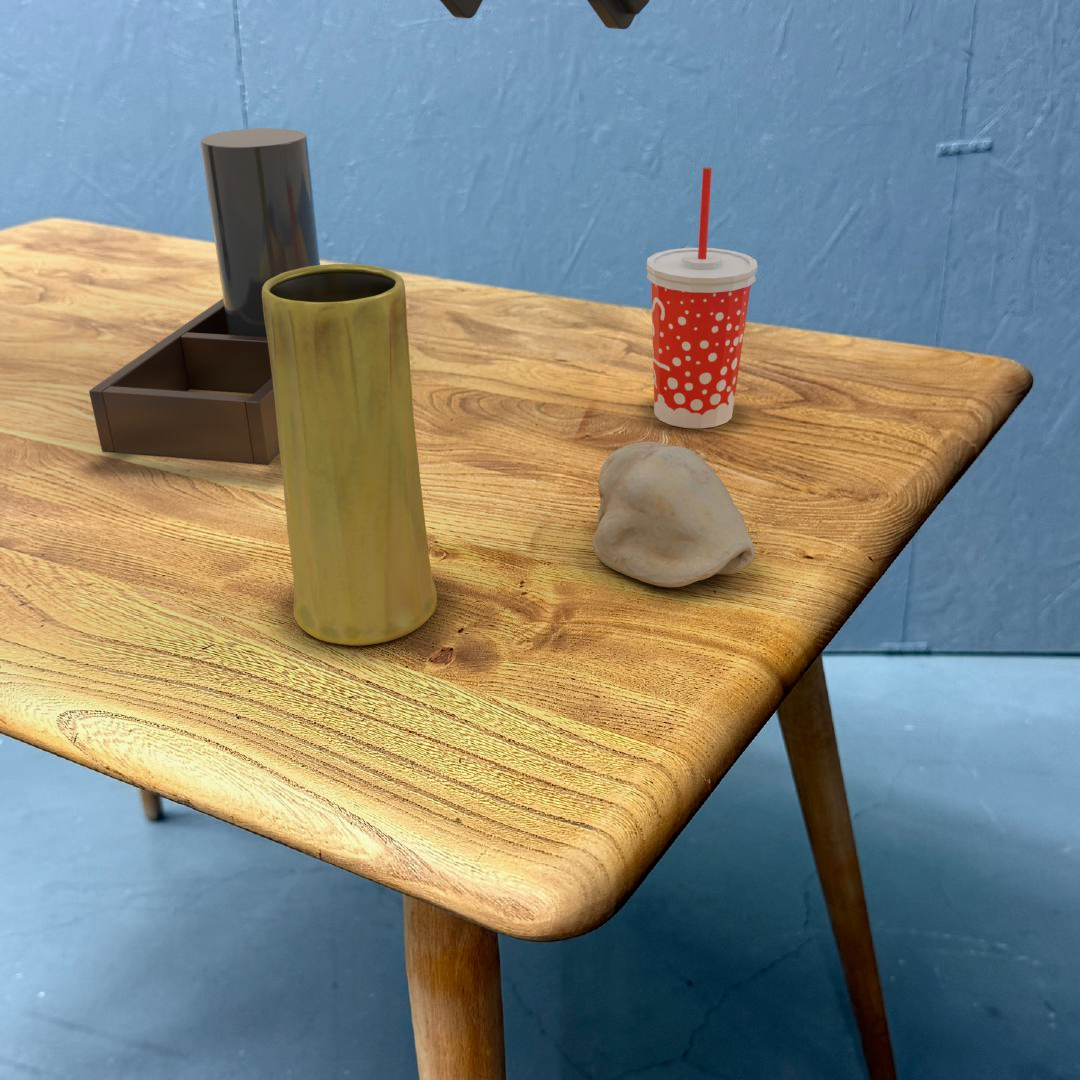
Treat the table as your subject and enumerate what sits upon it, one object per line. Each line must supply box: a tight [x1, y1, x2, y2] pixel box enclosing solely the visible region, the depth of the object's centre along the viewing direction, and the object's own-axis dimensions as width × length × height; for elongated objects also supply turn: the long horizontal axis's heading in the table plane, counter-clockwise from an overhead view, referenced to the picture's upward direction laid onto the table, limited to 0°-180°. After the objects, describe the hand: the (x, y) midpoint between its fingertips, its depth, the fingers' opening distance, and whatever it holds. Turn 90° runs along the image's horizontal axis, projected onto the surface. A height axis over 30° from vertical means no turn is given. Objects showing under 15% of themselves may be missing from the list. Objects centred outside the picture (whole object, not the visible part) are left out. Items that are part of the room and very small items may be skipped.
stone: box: [592, 440, 756, 588], centre depth 53 cm, size 7×6×8 cm
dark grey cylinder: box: [199, 127, 321, 337], centre depth 70 cm, size 6×6×14 cm
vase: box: [262, 263, 438, 647], centre depth 46 cm, size 6×6×14 cm
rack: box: [88, 297, 280, 466], centre depth 69 cm, size 10×18×4 cm, turn 169°
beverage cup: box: [646, 166, 758, 429], centre depth 65 cm, size 6×6×14 cm
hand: (522, 9), depth 45 cm, fingers open, 8 cm apart
